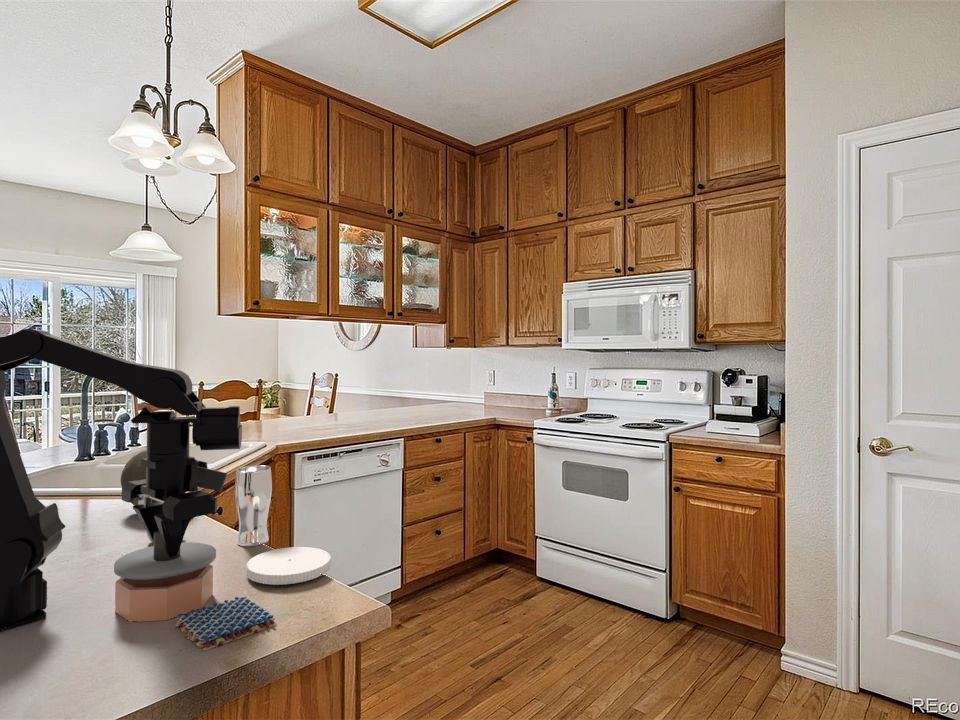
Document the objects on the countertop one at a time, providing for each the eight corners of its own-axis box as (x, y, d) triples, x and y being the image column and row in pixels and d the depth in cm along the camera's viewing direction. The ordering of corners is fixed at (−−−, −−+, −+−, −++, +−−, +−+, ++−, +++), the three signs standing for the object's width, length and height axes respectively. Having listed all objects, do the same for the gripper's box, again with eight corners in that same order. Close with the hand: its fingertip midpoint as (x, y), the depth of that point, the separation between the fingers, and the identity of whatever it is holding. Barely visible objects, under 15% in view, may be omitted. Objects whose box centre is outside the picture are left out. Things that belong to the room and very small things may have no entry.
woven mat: (202, 657, 72) (202, 641, 72) (172, 628, 79) (173, 614, 79) (279, 629, 79) (279, 615, 79) (246, 605, 86) (246, 592, 86)
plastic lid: (231, 575, 98) (231, 560, 98) (302, 554, 108) (302, 541, 108) (273, 598, 89) (273, 582, 89) (346, 573, 99) (346, 559, 99)
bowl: (140, 629, 77) (140, 596, 77) (105, 605, 85) (106, 575, 85) (224, 600, 87) (224, 571, 87) (186, 580, 94) (187, 554, 94)
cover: (137, 587, 76) (138, 552, 76) (98, 564, 85) (99, 532, 85) (232, 559, 87) (233, 529, 87) (190, 541, 95) (190, 513, 95)
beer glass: (259, 534, 120) (260, 463, 120) (277, 541, 115) (278, 468, 115) (227, 542, 114) (228, 468, 114) (245, 550, 110) (246, 473, 110)
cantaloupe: (192, 503, 144) (193, 444, 144) (179, 518, 130) (180, 453, 130) (130, 506, 140) (131, 446, 140) (109, 522, 126) (110, 455, 126)
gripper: (250, 451, 87) (249, 552, 87) (191, 440, 98) (190, 529, 98) (176, 461, 78) (174, 574, 78) (120, 447, 89) (119, 545, 89)
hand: (166, 553), depth 86 cm, fingers closed on cover, 4 cm apart
